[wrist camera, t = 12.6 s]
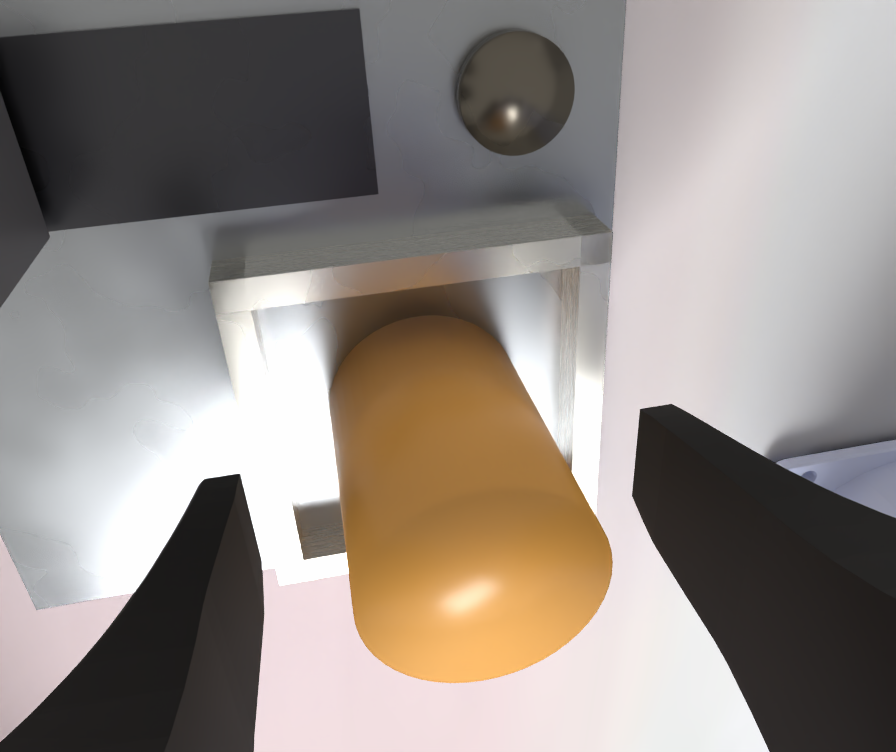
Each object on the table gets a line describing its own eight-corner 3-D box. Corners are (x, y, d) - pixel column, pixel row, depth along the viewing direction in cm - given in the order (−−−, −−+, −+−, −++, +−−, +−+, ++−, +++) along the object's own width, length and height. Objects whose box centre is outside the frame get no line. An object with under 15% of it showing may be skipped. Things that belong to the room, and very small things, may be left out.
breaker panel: (633, -565, 10) (700, -655, 9) (582, 487, 20) (610, 538, 18) (-491, -594, 8) (-671, -714, 7) (46, 580, 18) (24, 646, 16)
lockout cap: (521, 307, 15) (627, 472, 11) (511, 465, 18) (597, 661, 13) (322, 323, 15) (344, 506, 10) (335, 486, 17) (360, 700, 12)
